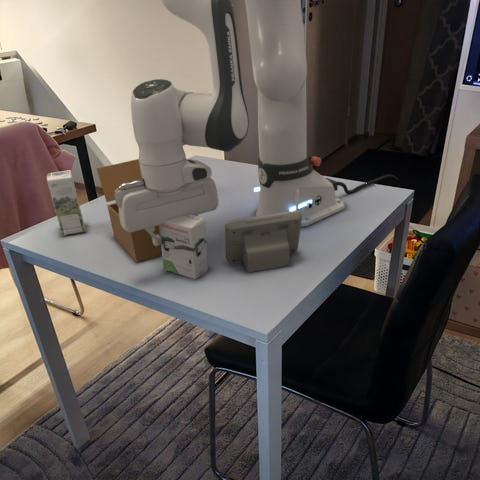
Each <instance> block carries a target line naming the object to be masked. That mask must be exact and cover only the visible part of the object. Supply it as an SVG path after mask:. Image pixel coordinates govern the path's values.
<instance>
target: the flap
mask: <svg viewBox="0 0 480 480" xmlns="http://www.w3.org/2000/svg"><path fill="white" fill-rule="evenodd" d="M96 172H97V175H98V179H99V182H100V185H101V189H102V193H103V195H104V198H105V202H106V203H109V202H113V201H115V196H114V194H115V191H116V189H117V188H118V187H120V185H121V184H123V183H130V182H133V181H136V180H140V179H142V176H141V170H140V164H139V158H137V159H133V160H128V161H127V160H126V161H124V162H119V163H114V164H110V165H106V166H102V167H101V166H100V167H97V168H96ZM119 190H122V189H119Z"/></svg>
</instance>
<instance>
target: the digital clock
mask: <svg viewBox="0 0 480 480" xmlns="http://www.w3.org/2000/svg"><path fill="white" fill-rule="evenodd" d="M301 222H302V214H301V212H298V211H290V212H283V213H276V214H270V215H264V216H257V217H256V216H251V217H245V218H239V219H233V220H229V221H227V223H226V224H225V226H224V251H225V252H224V255H225V260H226V262H228V263H229V264H237V263H243V264H244V266H245V268H246V270H247V272H248V273H252V272H258V271H259V272H260V271H265V270H270V269H275V268H276V269H277V268H281V267H282V268H283V267H289V266H290V254H295V253H296V252H297V251H298V248H299V245H300V244H299V243H300V242H299V241H300V236H301V229H302V226H301Z"/></svg>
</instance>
